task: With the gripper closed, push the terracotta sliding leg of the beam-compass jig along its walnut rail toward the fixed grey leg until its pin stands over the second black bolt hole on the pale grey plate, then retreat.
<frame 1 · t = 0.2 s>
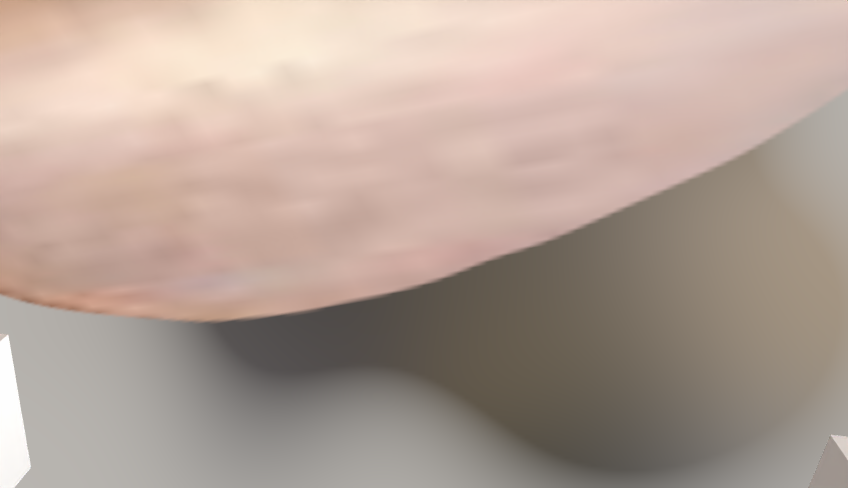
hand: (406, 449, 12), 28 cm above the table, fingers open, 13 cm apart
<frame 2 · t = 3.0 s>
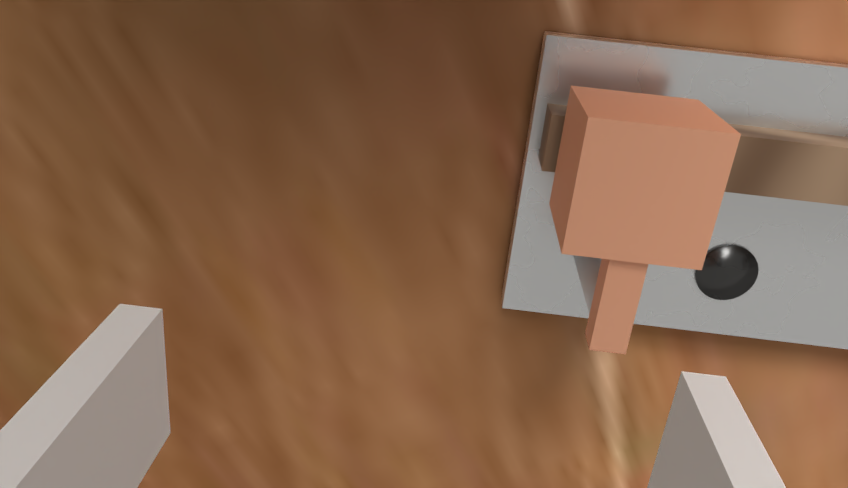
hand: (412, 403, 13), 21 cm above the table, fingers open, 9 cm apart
bolt plate: (845, 211, 33), on the table
sliding leg: (617, 213, 28), point 5 cm above the table, slide at -11.5 cm
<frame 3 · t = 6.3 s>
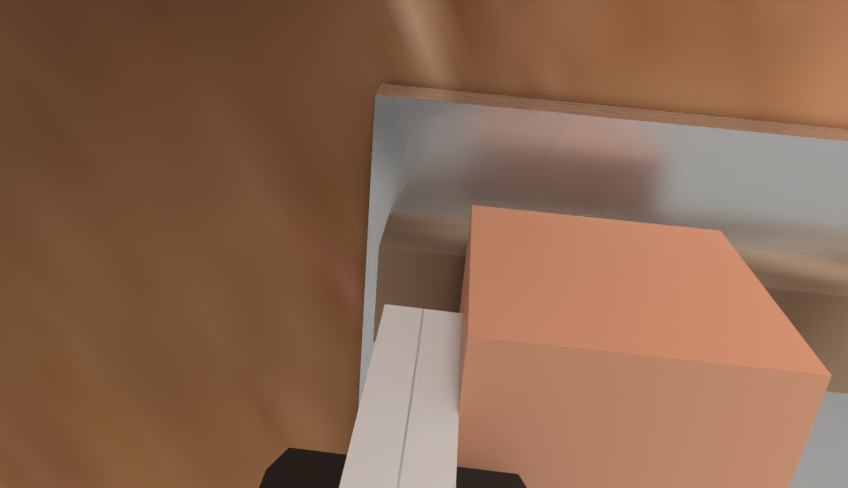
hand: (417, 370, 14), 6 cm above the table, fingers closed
sliding leg: (567, 444, 15), point 5 cm above the table, slide at -10.1 cm, touching gripper
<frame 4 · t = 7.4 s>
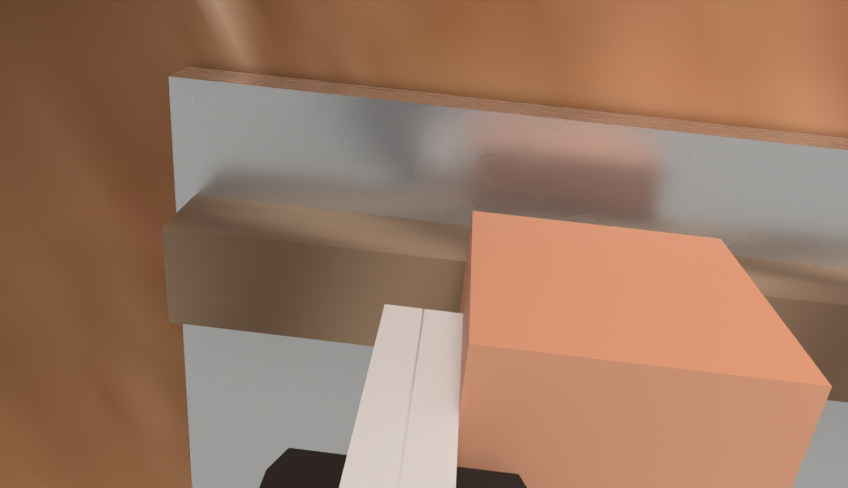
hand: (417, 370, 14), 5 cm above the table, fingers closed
bolt plate: (739, 364, 20), on the table
sliding leg: (565, 451, 15), point 5 cm above the table, slide at -5.4 cm, touching gripper
rail and fixed leg: (809, 455, 15), on the bolt plate, point 4 cm above the table
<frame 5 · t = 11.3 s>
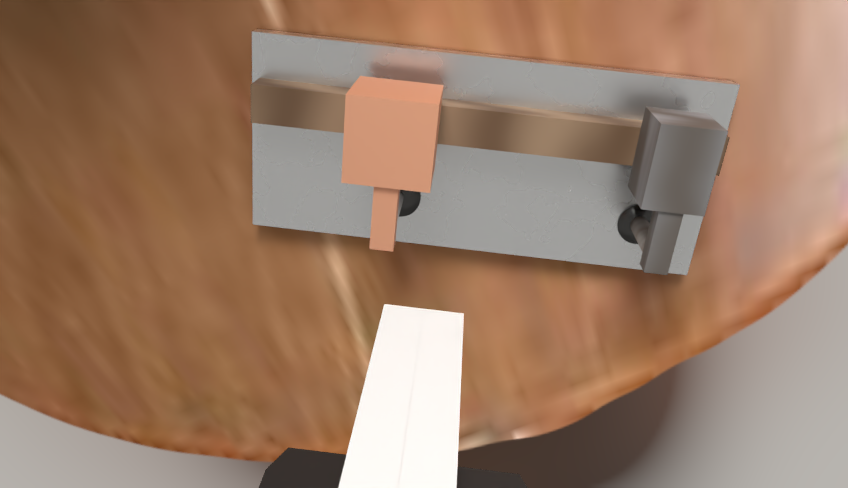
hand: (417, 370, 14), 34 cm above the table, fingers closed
bolt plate: (480, 153, 48), on the table
sliding leg: (393, 160, 43), point 5 cm above the table, slide at -5.3 cm
rail and fixed leg: (481, 166, 43), on the bolt plate, point 4 cm above the table
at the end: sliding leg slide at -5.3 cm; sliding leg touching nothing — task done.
